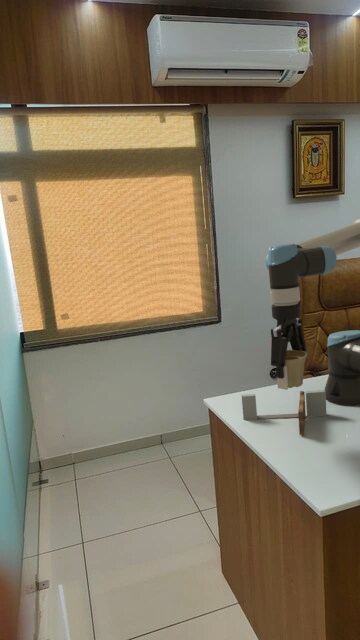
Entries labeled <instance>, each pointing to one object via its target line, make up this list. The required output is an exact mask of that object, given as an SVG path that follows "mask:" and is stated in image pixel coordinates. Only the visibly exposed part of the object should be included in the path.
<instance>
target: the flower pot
mask: <svg viewBox="0 0 360 640" xmlns="http://www.w3.org/2000/svg"><path fill="white" fill-rule="evenodd" d="M307 357H308V353H307V352H306V351H296V350H292V349H287V353H286V360H285V366H287V377H288V389H293V388H295V387H296V388H299V387H301V386H302V385H303V384H304V372H305V362H306V360H307V359H306V358H307Z"/></svg>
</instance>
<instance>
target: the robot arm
mask: <svg viewBox="0 0 360 640" xmlns="http://www.w3.org/2000/svg"><path fill="white" fill-rule="evenodd" d="M358 248H360V218H358V219H356V220H354V221H353V222H352V223H351V224H350V225H347V226H344V227H341V228H338V229H335V230H333V231H330V232H327V233H324V234H321V235H319V236H316V237H312V238H309V239H307V240H305V241H301V242H299V243H285V244H284V243H283V244H276V245H275V244H273V245H271V246H269V248H268V249H267V254H266V257H265V261H264V262H265V266H266V268H267V270H268V277H269V285H270V287H269V288H270V291H269V294H270V300H271V301H270V302H271V303H272V305H271V316H272V318H273V319H274V320H276V327H275V328H270V336H271V344H270V345H271V347H270V348H271V349H270V365H271V367H275V369H276V379H277V381H276V383H277V389H281V390H286V391H287V390H289V388H288V377H287V366H285V360H286V353H287V350H288V346H289V345H288V344H290V347H291V350H296V351H304V352H306V350H307V347H306V341H305V335H304V329H303V328H304V327H303V318H300V317H301V316H302V312H301V311H302V310H301V303H300V301H301V294H300V293H301V292H300V279H302V278H308V277H313V276H319V275H321V276H323V275H326V274H329V273H331V272H333V271H334V270H335V268H336V267H337V260H338V259H337V256H339V255H340V254H343V253H347V252H350V251H352V250H354V249H358ZM326 347H327V363H328V364H327V366H328V377H327V379H326V383H325V386H324V389H323V390H325V392H326V401H328V402H329V403H333V404H336V405H340V406H360V330H358V329H356V330H353V329H352V330H343V331H337V332H333V333H330V334H329V336H328V337H327V344H326Z"/></svg>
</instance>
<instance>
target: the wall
mask: <svg viewBox="0 0 360 640" xmlns="http://www.w3.org/2000/svg"><path fill="white" fill-rule="evenodd" d="M241 405H242V407H241V408H242V417H243V420H247V421H248V420H257V421H258V420H277V419H279V420H280V419H299V416H298V413H284V414H282V413H281V414H280V413H279V414H263V415H258V411H257V399H256V394H255V393H251V394H250V393H247V394H244V393H243V394H241ZM305 411H306V416H308V418H310V417H327V415H328V414H327V400H326V392H325V390H324V389H320V390H306V391H305Z"/></svg>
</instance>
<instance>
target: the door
mask: <svg viewBox="0 0 360 640" xmlns="http://www.w3.org/2000/svg"><path fill="white" fill-rule="evenodd" d="M297 411H298V413H297V414H298V416H299V418H298V432H299V435H300V436H304V435H305V421H307V420H308V419H309V417H308V416H307V413H306V393H305V391H303V390H301V391H299V401H298V410H297Z"/></svg>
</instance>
